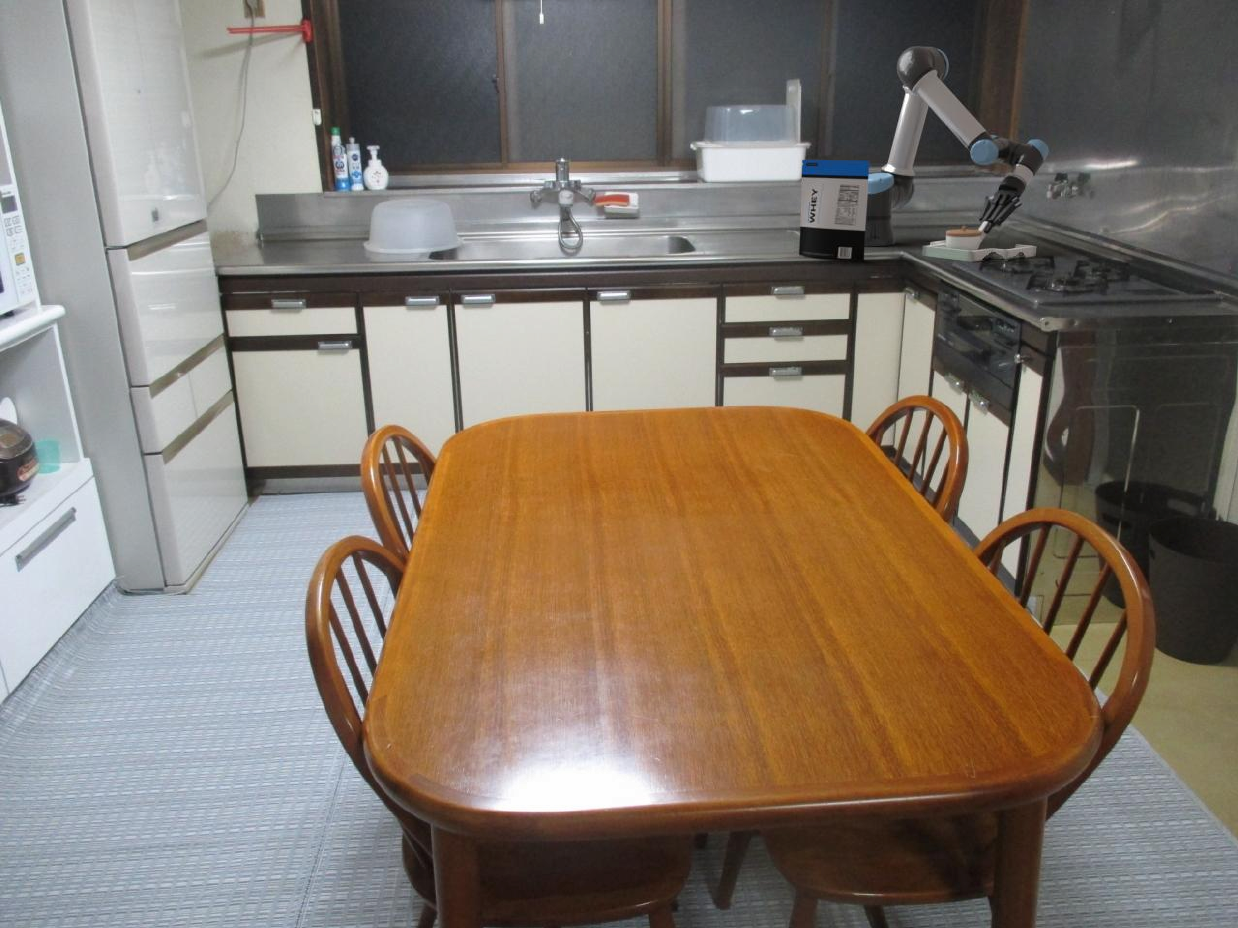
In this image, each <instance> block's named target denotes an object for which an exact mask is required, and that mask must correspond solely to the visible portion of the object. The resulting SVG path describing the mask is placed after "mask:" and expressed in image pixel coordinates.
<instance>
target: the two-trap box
mask: <svg viewBox="0 0 1238 928" xmlns="http://www.w3.org/2000/svg"><path fill="white" fill-rule="evenodd" d="M991 252H996V253H997V254H999V255H1001V256H1003V258H1005V259H1006V258H1009V257H1013V256H1016V255H1017V254H1018V253H1019V252H1023V253H1024V255H1025V256H1026V257H1025V258H1031V257H1036V254H1037V246H1036V245H1030V244H1029V245H1028V244H1020V243H1019V244H1015V247H1014V248H1006V249H1002V248H994V247H993V248H992V247H990V248H989V247H988V248H982V249H978V250H974V251H968V250H959V249H950V248H947V247H946V239H945V240H938V241H937V240H936V241H931V242H930V244H929V245H922V254H921V256H923V257H929V258H930V257H931V258H937V259H945V260H946V259H947V260H954V261H962V262H971V263H972V262H979V261H983V260H982V259H983V258H984V257H985V256H986V255H988V254H989V253H991Z"/></svg>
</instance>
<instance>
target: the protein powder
mask: <svg viewBox="0 0 1238 928" xmlns="http://www.w3.org/2000/svg"><path fill="white" fill-rule="evenodd" d="M801 163H802V165H801V185H800V186H801V187H800V189H801V191H800V225H799V227H800V228H799V248H798V255H799V256H803V257H804V258H805V257H806V258H810V259H813V260H814V259H815V260H816V259H817V260H823V261H825V260H826V261H827V260H828V261H848V262H849V261H852V262H853V261H857V262H858V261H861V262H862V261H863V262H864V260H865V246H864V245H865V224H866V210H867V195H868V177H869V174H870V166H869V165H870V160H835V159H833V160H832V159H831V160H830V159H828V160H827V159H801Z"/></svg>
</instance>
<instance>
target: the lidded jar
mask: <svg viewBox="0 0 1238 928" xmlns="http://www.w3.org/2000/svg"><path fill="white" fill-rule="evenodd" d="M981 234H982V232H981V231H979V230H977V229H967V225H962V227H961V229H949V230H948V229H947V230H946V231H945V240H946V247H947V248H950V249H959V250H968V251H974V250H979V248H980V246H981V245H980V244H981V243H980V241H981Z"/></svg>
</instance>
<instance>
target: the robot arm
mask: <svg viewBox="0 0 1238 928" xmlns="http://www.w3.org/2000/svg"><path fill="white" fill-rule="evenodd" d="M896 72H897V73H896V74H897V75H898V77H899V79H900V81H901V82H902V88H903V89H904V92H905V94H904V98H903V101H902V106H901V110H900V113H899V118H898V120H897V121H898V122H897V125H896V128H895V129H896V130H895V132H894V133H895V134H894V137H893V141H892V144H891V148H890V152H889V157H888V161H887V163H886V164H885V165H883V166H882V167H881V171H880V172H875V173H869V177H868V195H867V210H866V224H865V245H864V247H887V246H893V245H896V244H895V243H896V236H895V234H894V227H893V224H892V212H893V211H894V210H895V211H896V210H900V209H902V208H904V207H906V206H908V205H909V204H910V203H911V201H913V198H914V196H915V192H916V186H915V183H914V180H915V177H916V173H915V172H914V170H913V166H914V162H915V158H916V155H917V151H918V147H919V144H920V139H921V135H922V132H923V128H924V125H925V121H926V117H927V114H928V110H929V108H930V109H932V111H933V112H934V114H935V115H937V117H938V118H939V119H940V120H941V121H942V123H944V124H945V125H946V127H948V129H949V130H950V131H951V132H952V133H953V135H954V136H956V138H957V139H958V140H959V141H960V142H961V144H963V146H964V147H965V148H967V150H968V152H970V158H971V160H972V162H974V163H975V164H977V165H981V166H988V165H992V164H999V163H1000V164H1003V165H1006V166H1009V167H1011V168H1010V169H1009V170H1008V172H1007V174H1006V175H1005V177H1004V178H1003V179H1002V181H1001V182H1000V184H999V185H998V190H997V191H996V192H995V193H994V194H993V195H992V196H989V195H986V196H985V197H984V203H983V206H982V208H981V211H980V213H979V216H978V221H979V223H980V224H979V226H978V227H977V229H976V230H979V231H981V232H982V234H981V241H980V244H981V243H982V242H983V240H984V239H985V237H986V235H988V234H990V232H991V231H992V229H993V228H994V227H996V226H998V227H999V226H1001V225H1002V224H1003V223H1004V222H1005V221H1006V220H1007V219H1008V218H1009V217H1010V216H1011V215H1012V214H1013V213H1014V211H1015V210H1016V209H1018V208H1019V207H1021V206H1022V204H1023V203H1022V201H1021V199H1020V198H1021V196H1022V195H1023V193H1024V192H1025V191H1026V189H1027V188H1028V186H1029V184H1030V183H1031V181H1032V180H1033V178H1034V177H1035V176H1036V173H1038V171H1039V169H1040V168H1041V166H1042V165H1043V164H1044V162H1045V161H1046V158H1048V155H1049V154H1050V153H1049V152H1050V150H1049V146H1048V145H1047V144H1046V142H1044V141H1043V140H1041V139H1038V138H1037V139H1031V140H1029V141H1028V142H1027V143H1026V144H1025V143H1021V142H1017V141H1014V140H1011V139H1007V138H1004V137H1003V136H998V135H995V134H990V133H989V132H988V131H987V130H986V129H985V128H984V127H983V125H982V124H981V123H980V122H979V121H978V120H977V119H976V118H975V117H974V116H973V114H972V113H971V112H970V111H969V109H967V107H965V106H964V104H962V102H961V101H960V100H959V99H958V98H957V97H956V95H954V94H953V92H952V91H951V90H950V89H949V88H948V87H947V86H946V84H945V83H944V82H943V80H944V79H945V78H946V76H947V75H948V72H949V60H948V57H947V55H946V54H945V53H944V51H943V50H941V49H939V48H936V47H934V46H920V45H916V46H911V47H908V48H907V49H905V50H904V51H903V52H902V53H901V54H900V56H899V58H898V60H897V64H896Z"/></svg>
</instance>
